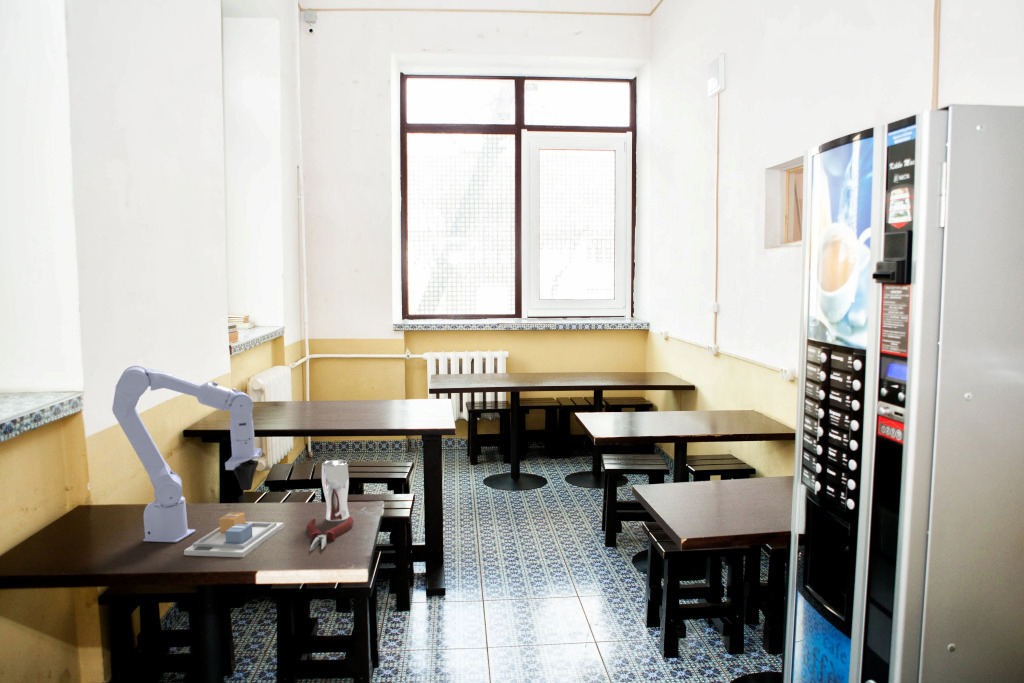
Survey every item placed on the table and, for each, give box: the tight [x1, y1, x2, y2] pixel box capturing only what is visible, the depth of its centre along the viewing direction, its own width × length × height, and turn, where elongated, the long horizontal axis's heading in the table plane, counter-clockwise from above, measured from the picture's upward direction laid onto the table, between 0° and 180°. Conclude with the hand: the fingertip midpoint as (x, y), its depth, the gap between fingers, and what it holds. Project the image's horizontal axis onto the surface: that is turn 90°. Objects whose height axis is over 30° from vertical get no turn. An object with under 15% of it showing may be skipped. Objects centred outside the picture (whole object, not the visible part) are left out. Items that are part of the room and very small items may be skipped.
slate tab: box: [225, 524, 253, 544], centre depth 177 cm, size 4×5×4 cm
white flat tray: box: [183, 521, 285, 558], centre depth 182 cm, size 15×20×2 cm
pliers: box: [306, 516, 354, 552], centre depth 182 cm, size 12×20×3 cm, turn 3°
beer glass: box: [321, 459, 350, 523], centre depth 195 cm, size 7×7×15 cm
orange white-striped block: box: [218, 512, 246, 533], centre depth 186 cm, size 4×5×4 cm
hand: (246, 489), depth 193 cm, fingers closed
